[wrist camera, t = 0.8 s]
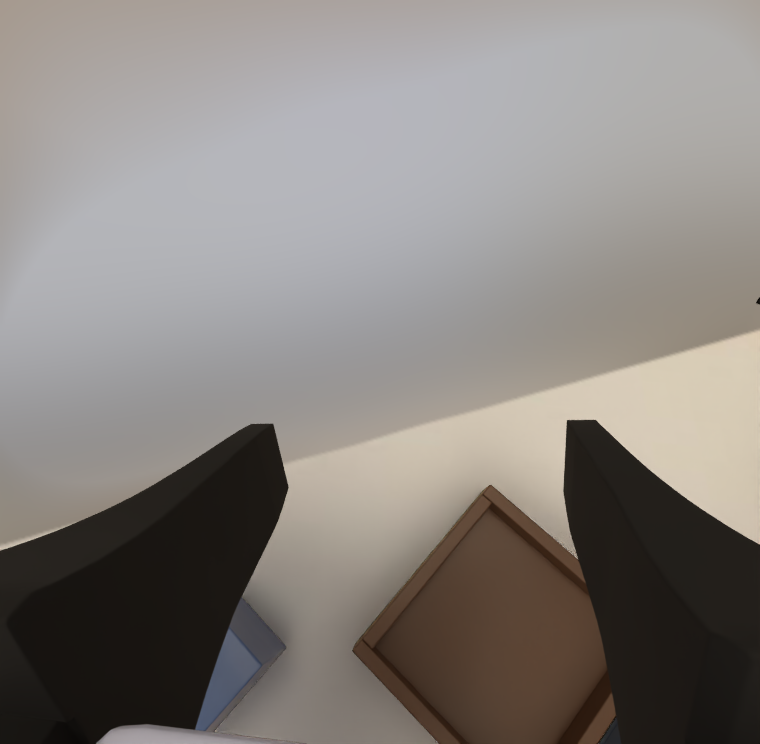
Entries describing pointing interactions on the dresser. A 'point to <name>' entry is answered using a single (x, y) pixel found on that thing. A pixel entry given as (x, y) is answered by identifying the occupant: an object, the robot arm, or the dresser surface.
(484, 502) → the walnut tray
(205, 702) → the blue block
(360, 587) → the dresser surface
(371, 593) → the dresser surface
